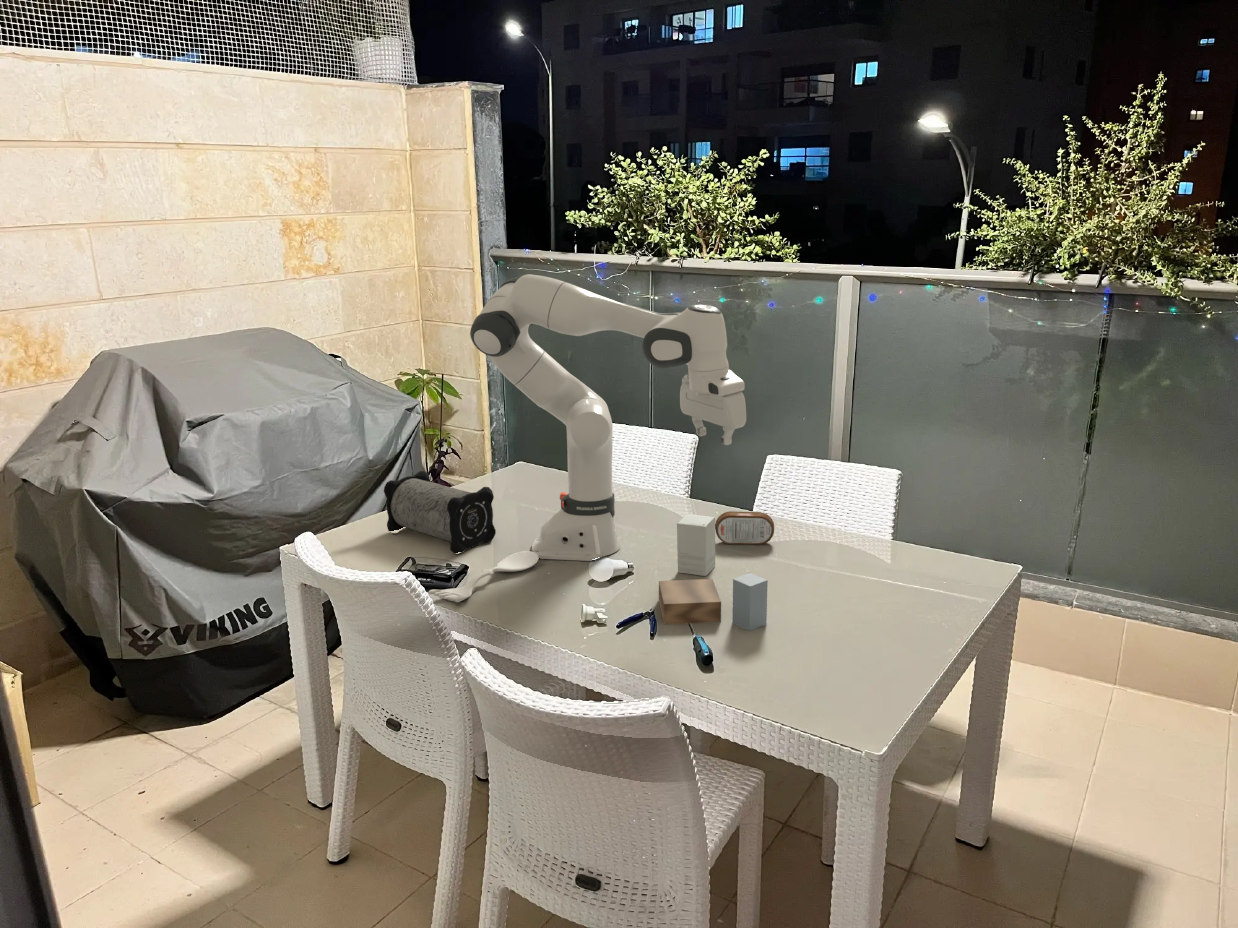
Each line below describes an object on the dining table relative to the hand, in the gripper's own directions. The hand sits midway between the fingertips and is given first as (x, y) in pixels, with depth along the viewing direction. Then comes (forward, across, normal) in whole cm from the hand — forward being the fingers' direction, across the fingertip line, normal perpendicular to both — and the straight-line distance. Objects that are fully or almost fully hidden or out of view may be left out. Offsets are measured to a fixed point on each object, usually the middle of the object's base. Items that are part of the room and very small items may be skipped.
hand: (713, 439), depth 212 cm
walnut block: (+33, +10, -17) cm, 38 cm away
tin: (+36, -15, +18) cm, 43 cm away
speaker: (+30, -63, -46) cm, 84 cm away
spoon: (+30, -28, -47) cm, 63 cm away
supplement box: (+34, -8, -2) cm, 35 cm away
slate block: (+33, +22, -10) cm, 41 cm away
